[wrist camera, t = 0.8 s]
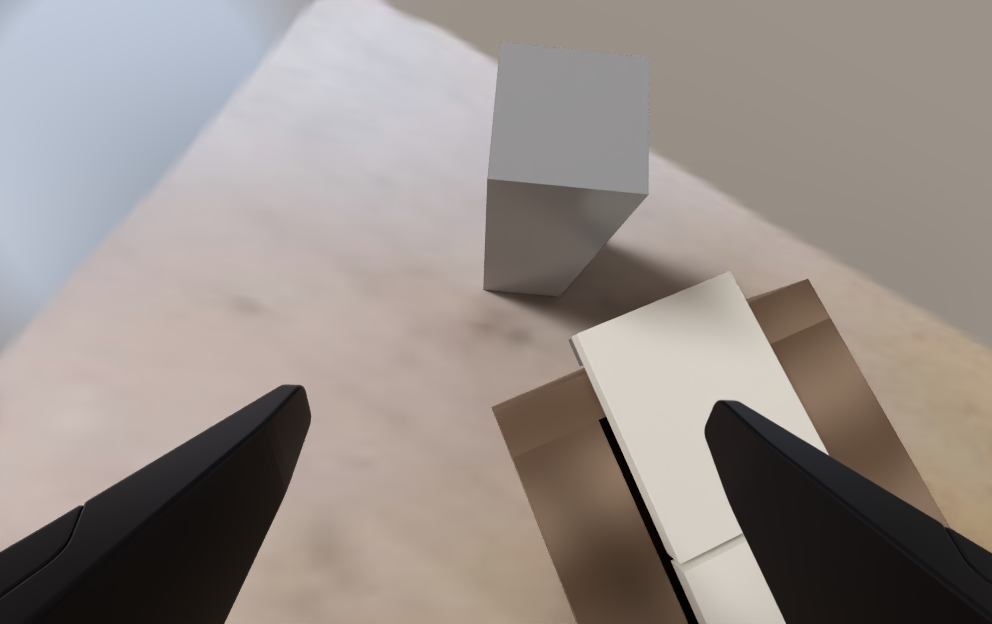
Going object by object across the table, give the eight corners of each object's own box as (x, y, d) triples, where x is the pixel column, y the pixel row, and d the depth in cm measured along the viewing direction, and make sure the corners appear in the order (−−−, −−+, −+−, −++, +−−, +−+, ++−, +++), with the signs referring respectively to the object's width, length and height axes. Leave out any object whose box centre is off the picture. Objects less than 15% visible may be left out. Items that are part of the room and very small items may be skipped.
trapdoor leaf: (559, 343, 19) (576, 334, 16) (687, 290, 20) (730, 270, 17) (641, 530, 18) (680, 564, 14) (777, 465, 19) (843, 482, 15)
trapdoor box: (889, 572, 20) (1004, 623, 16) (615, 719, 18) (658, 824, 14) (744, 300, 23) (808, 278, 18) (491, 407, 21) (494, 412, 17)
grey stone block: (559, 296, 22) (648, 194, 11) (483, 289, 22) (487, 178, 10) (563, 225, 23) (649, 57, 11) (489, 218, 23) (500, 41, 11)
